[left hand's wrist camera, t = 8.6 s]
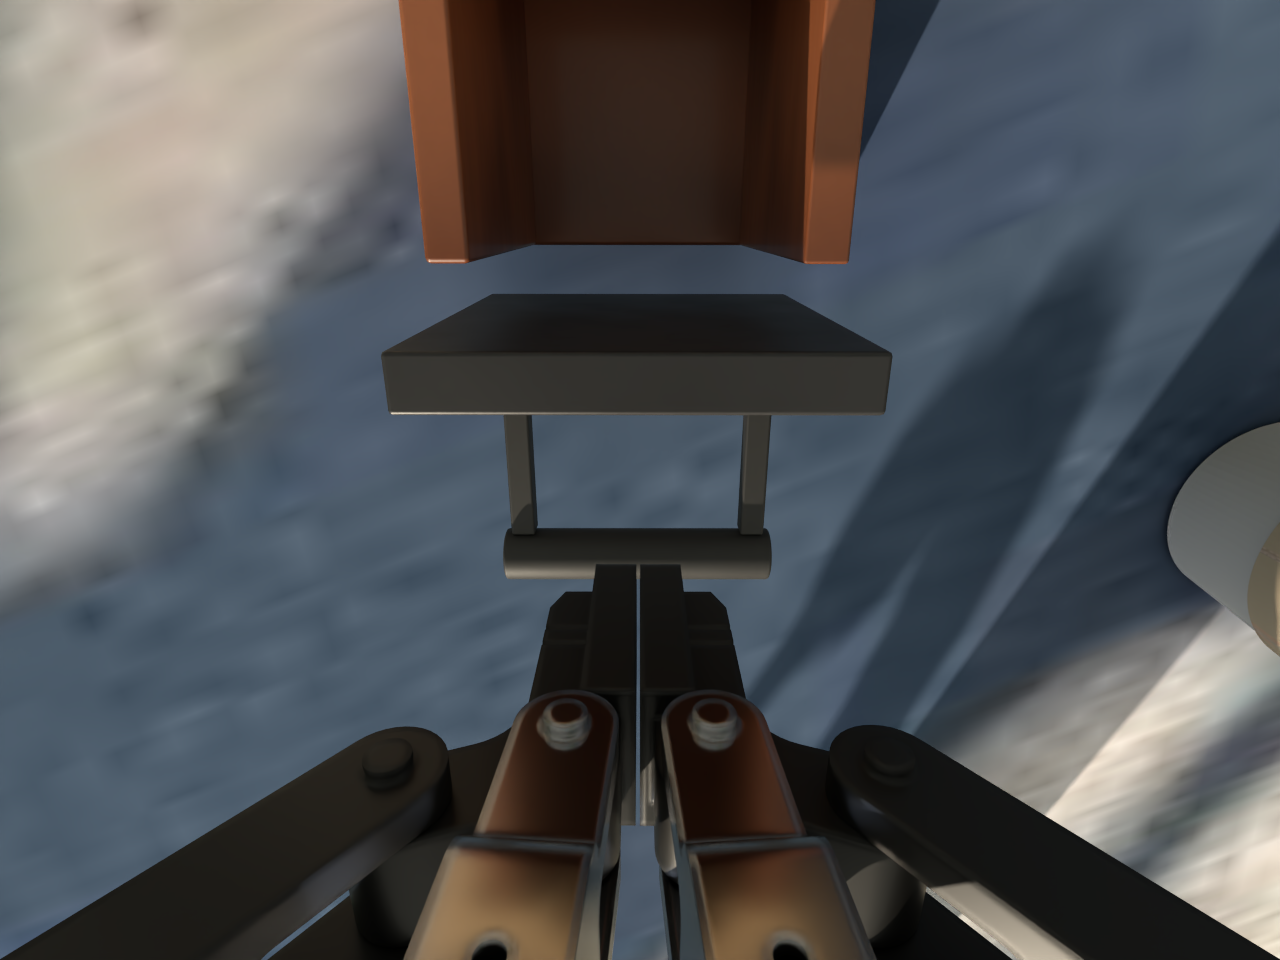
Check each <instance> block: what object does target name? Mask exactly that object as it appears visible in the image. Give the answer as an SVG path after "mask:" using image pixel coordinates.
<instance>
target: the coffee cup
mask: <svg viewBox="0 0 1280 960" xmlns="http://www.w3.org/2000/svg"><path fill="white" fill-rule="evenodd" d="M1167 540H1168V547H1169V551H1170V554H1171V556H1172V559H1173V561H1174V562H1175V564H1176V566H1177V567H1178V568H1179V570H1180V571H1181V572H1182V573H1183V574H1184V575H1185V576H1187V577H1188V578H1189V579H1190V580H1192V581H1193V582H1194V583H1195V584H1197V585H1198V586H1199V587H1200V588H1202V589H1203V590H1204V591H1205V592H1207V593H1208V594H1209V595H1210V596H1212V597H1213V598H1214V599H1216V600H1217V601H1218V602H1219V603H1221V604H1222V605H1223V606H1224V607H1226V608H1227V609H1228V610H1229V611H1231V612H1232V613H1233V614H1234V615H1236V616H1237V617H1238V618H1239V619H1241V620H1242V621H1243V622H1245V623H1246V624H1247V625H1248V626H1250V627H1251V628H1252V629H1253V630H1255V631H1256V633H1257V635H1258V636H1259V638H1260V639H1261V640H1262V641H1263V643H1264V644H1265V645H1266V646H1267V647H1269V648H1270V649H1271V650H1272V651H1273V652H1275V653H1276V654H1277V655H1278V656H1280V423H1274V424H1270V425H1266V426H1263V427H1260V428H1257V429H1254V430H1251V431H1249V432H1247V433H1245V434H1243V435H1241V436H1238V437H1237V438H1235V439H1233V440H1231V441H1230V442H1228V443H1226V444H1225V445H1223V446H1222V447H1221V448H1219V449H1218V450H1216V451H1215V452H1214V453H1213V454H1211V455H1210V456H1209V457H1208V458H1207V459H1206V460H1205V461H1203V462H1202V463H1201V464H1200V465H1199V466H1198V468H1197V469H1196V470H1195V471H1194V472H1193V473H1192V474H1191V476H1190V477H1189V478H1188V479H1187V481H1186V482H1185V484H1184V485H1183V487H1182V488H1181V490H1180V492H1179V494H1178V496H1177V498H1176V500H1175V502H1174V504H1173V507H1172V510H1171V513H1170V517H1169V521H1168V528H1167Z"/></svg>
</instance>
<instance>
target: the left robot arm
mask: <svg viewBox="0 0 1280 960" xmlns="http://www.w3.org/2000/svg"><path fill="white" fill-rule="evenodd" d="M636 684H637V576H636V564H596V568H595V576H594V584H593V592H565V593H564V594H563V595H562V596H561V597H560V598H559V599H558V600H557V601H556V602H555V603H554V604H553V605H552V606H551V607H550V611H549V615H548V620H547V624H546V630H545V633H544V637H543V645H542V646H541V651H540V655H539V659H538V664H537V668H536V673H535V677H534V681H533V686H532V690H531V694H530V699H529V703H527V704H526V705H525V706H524V707H523V708H522V709H521V710H520V711H519V713H518V714H517V716H516V718H515V720H514V722H513V725H512V727H511V728H509V729H508V730H506V731H505V732H504V733H502V734H500V735H498V736H496V737H494V738H492V739H489V740H487V741H484V742H480V743H477V744H473V745H469V746H465V747H461V748H457V749H453V750H447V747H446V744H445V743H444V741H443V740H442V739H441V738H440V737H439V736H438V735H437V734H435V733H433V732H431V731H429V730H426V729H423V728H418V727H395V728H390V729H385V730H382V731H378V732H375V733H373V734H370V735H368V736H366V737H364V738H362V739H360V740H358V741H357V742H355V743H353V744H352V745H350V746H349V747H347V748H345V749H344V750H342V751H340V752H339V753H337V754H335V755H334V756H332V757H331V758H329V759H327V760H326V761H324V762H322V763H321V764H319V765H317V766H316V767H314V768H312V769H311V770H309V771H308V772H306V773H304V774H303V775H301V776H299V777H298V778H296V779H294V780H293V781H291V782H290V783H288V784H286V785H285V786H283V787H281V788H280V789H278V790H276V791H275V792H273V793H272V794H270V795H268V796H267V797H265V798H263V799H262V800H260V801H258V802H257V803H255V804H254V805H252V806H250V807H249V808H247V809H245V810H244V811H242V812H240V813H239V814H237V815H236V816H234V817H232V818H231V819H229V820H227V821H226V822H224V823H222V824H221V825H219V826H218V827H216V828H214V829H213V830H211V831H209V832H208V833H206V834H204V835H203V836H201V837H200V838H198V839H196V840H195V841H193V842H191V843H190V844H188V845H186V846H185V847H183V848H182V849H180V850H178V851H177V852H175V853H173V854H172V855H170V856H168V857H167V858H165V859H164V860H162V861H160V862H159V863H157V864H155V865H154V866H152V867H150V868H149V869H147V870H146V871H144V872H142V873H141V874H139V875H137V876H136V877H134V878H132V879H131V880H129V881H128V882H126V883H124V884H123V885H121V886H119V887H118V888H116V889H114V890H113V891H111V892H109V893H108V894H106V895H105V896H103V897H101V898H100V899H98V900H96V901H95V902H93V903H91V904H90V905H88V906H87V907H85V908H83V909H82V910H80V911H78V912H77V913H75V914H73V915H72V916H70V917H69V918H67V919H65V920H64V921H62V922H60V923H59V924H57V925H55V926H54V927H52V928H51V929H49V930H47V931H46V932H44V933H42V934H41V935H39V936H37V937H36V938H34V939H33V940H31V941H29V942H28V943H26V944H24V945H23V946H21V947H19V948H18V949H16V950H15V951H13V952H11V953H10V954H8V955H6V956H5V957H3V958H1V959H0V960H261V959H262V958H263V957H264V956H265V955H266V954H267V953H268V952H269V951H270V950H272V949H273V948H274V947H275V946H277V945H278V944H279V943H280V942H282V941H283V940H284V939H286V938H287V937H288V936H290V935H291V934H292V933H293V932H295V931H296V930H297V929H299V928H300V927H301V926H302V925H304V924H305V923H306V922H308V921H309V920H310V919H311V918H313V917H314V916H315V915H317V914H318V913H319V912H320V911H322V910H323V909H324V908H326V907H327V906H328V905H330V904H331V903H332V902H333V901H335V900H336V899H337V898H339V897H340V896H341V895H342V894H344V893H345V892H346V891H348V890H349V893H350V896H348V897H347V898H346V899H345V900H343V901H342V902H341V903H339V904H338V905H337V906H336V907H334V908H333V909H332V910H330V911H329V912H328V913H327V914H325V915H324V916H323V917H322V918H320V919H319V920H318V921H316V922H315V923H314V924H313V925H311V926H310V927H309V928H307V929H306V930H305V931H304V932H302V933H301V934H300V935H299V936H297V937H296V938H295V939H293V940H292V941H291V942H290V943H288V944H287V945H286V946H284V947H283V948H282V949H281V950H279V951H278V952H277V953H276V954H274V955H273V956H272V957H270V958H269V959H268V960H612V952H613V943H614V934H615V926H616V917H617V908H618V899H619V890H620V881H621V856H620V846H621V825H635V817H636ZM640 826H654V838H655V854H656V858H657V861H658V863H659V881H660V890H661V899H662V908H663V917H664V926H665V934H666V943H667V952H668V960H1012V959H1011V958H1010V957H1008V956H1007V955H1006V954H1004V953H1003V952H1002V951H1001V950H999V949H998V948H997V947H996V946H994V945H993V944H992V943H990V942H989V941H988V940H987V939H985V938H984V937H983V936H981V935H980V934H979V933H978V932H976V931H975V930H974V929H973V928H971V927H970V926H969V925H967V924H966V923H965V922H964V921H962V920H961V919H960V918H958V917H957V916H956V915H955V914H953V913H952V912H951V911H950V910H948V909H947V908H946V907H944V906H943V905H942V904H941V903H939V902H938V901H937V900H935V899H934V898H933V897H932V896H930V895H929V894H928V893H927V892H926V887H929V888H930V889H931V890H932V891H934V892H935V893H936V894H938V895H939V896H940V897H941V898H943V899H944V900H945V901H947V902H948V903H949V904H950V905H952V906H953V907H954V908H956V909H957V910H958V911H959V912H961V913H962V914H963V915H965V916H966V917H967V918H969V919H970V920H971V921H972V922H974V923H975V924H976V925H978V926H979V927H980V928H981V929H983V930H984V931H985V932H987V933H988V934H989V935H990V936H992V937H993V938H994V939H996V940H997V941H998V942H999V943H1001V944H1002V945H1003V946H1004V947H1006V948H1007V949H1008V950H1009V951H1010V952H1011V953H1012V954H1013V955H1014V956H1015V957H1016V958H1017V959H1018V960H1280V959H1279V958H1277V957H1275V956H1274V955H1272V954H1270V953H1269V952H1267V951H1265V950H1264V949H1262V948H1261V947H1259V946H1257V945H1256V944H1254V943H1252V942H1251V941H1249V940H1247V939H1246V938H1244V937H1243V936H1241V935H1239V934H1238V933H1236V932H1234V931H1233V930H1231V929H1229V928H1228V927H1226V926H1225V925H1223V924H1221V923H1220V922H1218V921H1216V920H1215V919H1213V918H1211V917H1210V916H1208V915H1206V914H1205V913H1203V912H1202V911H1200V910H1198V909H1197V908H1195V907H1193V906H1192V905H1190V904H1188V903H1187V902H1185V901H1184V900H1182V899H1180V898H1179V897H1177V896H1175V895H1174V894H1172V893H1170V892H1169V891H1167V890H1166V889H1164V888H1162V887H1161V886H1159V885H1157V884H1156V883H1154V882H1152V881H1151V880H1149V879H1148V878H1146V877H1144V876H1143V875H1141V874H1139V873H1138V872H1136V871H1134V870H1133V869H1131V868H1130V867H1128V866H1126V865H1125V864H1123V863H1121V862H1120V861H1118V860H1116V859H1115V858H1113V857H1112V856H1110V855H1108V854H1107V853H1105V852H1103V851H1102V850H1100V849H1098V848H1097V847H1095V846H1094V845H1092V844H1090V843H1089V842H1087V841H1085V840H1084V839H1082V838H1080V837H1079V836H1077V835H1076V834H1074V833H1072V832H1071V831H1069V830H1067V829H1066V828H1064V827H1062V826H1061V825H1059V824H1058V823H1056V822H1054V821H1053V820H1051V819H1049V818H1048V817H1046V816H1044V815H1043V814H1041V813H1040V812H1038V811H1036V810H1035V809H1033V808H1031V807H1030V806H1028V805H1026V804H1025V803H1023V802H1022V801H1020V800H1018V799H1017V798H1015V797H1013V796H1012V795H1010V794H1008V793H1007V792H1005V791H1003V790H1002V789H1000V788H999V787H997V786H995V785H994V784H992V783H990V782H989V781H987V780H985V779H984V778H982V777H981V776H979V775H977V774H976V773H974V772H972V771H971V770H969V769H967V768H966V767H964V766H963V765H961V764H959V763H958V762H956V761H954V760H953V759H951V758H949V757H948V756H946V755H945V754H943V753H941V752H940V751H938V750H936V749H935V748H933V747H931V746H930V745H928V744H927V743H925V742H923V741H922V740H920V739H918V738H916V737H914V736H913V735H911V734H908V733H906V732H904V731H901V730H898V729H894V728H891V727H886V726H879V725H862V726H856V727H852V728H849V729H847V730H845V731H843V732H841V733H840V734H839V735H838V736H837V737H836V738H835V739H834V740H833V742H832V744H831V747H830V751H825V750H821V749H817V748H813V747H809V746H805V745H801V744H797V743H794V742H790V741H788V740H785V739H783V738H780V737H779V736H777V735H775V734H773V733H771V732H770V730H769V728H768V725H767V722H766V720H765V718H764V716H763V714H762V713H761V711H760V710H759V709H758V708H757V707H756V706H755V705H754V704H753V703H751V702H750V701H748V700H747V699H746V697H745V692H744V688H743V683H742V679H741V674H740V669H739V665H738V660H737V656H736V651H735V647H734V645H733V637H732V633H731V630H730V624H729V619H728V615H727V610H726V607H725V606H724V605H723V604H722V603H721V602H720V601H719V600H718V599H717V598H716V597H715V596H714V595H713V594H712V593H711V592H684V590H683V582H682V573H681V565H680V564H640Z"/></svg>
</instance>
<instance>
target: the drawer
mask: <svg viewBox="0 0 1280 960" xmlns="http://www.w3.org/2000/svg"><path fill="white" fill-rule="evenodd" d="M875 2H876V0H399V9H400V19H401V28H402V38H403V48H404V57H405V67H406V76H407V86H408V96H409V105H410V115H411V124H412V134H413V144H414V153H415V163H416V173H417V182H418V192H419V201H420V211H421V221H422V230H423V240H424V249H425V258H426V260H427V262H430V263H468V262H472V261H476V260H479V259H483V258H487V257H491V256H494V255H498V254H502V253H505V252H509V251H513V250H516V249H520V248H524V247H527V246H531V245H742V246H746V247H749V248H753V249H756V250H760V251H763V252H767V253H770V254H774V255H777V256H781V257H784V258H788V259H791V260H795V261H798V262H802V263H805V264H846V263H848V261H849V253H850V244H851V234H852V224H853V215H854V205H855V195H856V186H857V176H858V166H859V157H860V147H861V137H862V128H863V118H864V108H865V99H866V89H867V79H868V70H869V60H870V50H871V41H872V31H873V21H874V12H875ZM381 358H382V366H383V373H384V381H385V388H386V396H387V404H388V410H389V413H390V414H393V415H504V427H505V441H506V455H507V469H508V483H509V497H510V512H511V526H512V528H510V529H508V530H507V532H506V535H505V540H504V549H503V562H504V571H505V575H506V577H507V578H508V579H594V576H595V568H596V564H636V576H637V579H640V564H680V565H681V573H682V579H767V578H768V577H769V575H770V571H771V561H772V551H771V540H770V535H769V532H768V530H767V529H765V528H763V525H764V511H765V496H766V482H767V468H768V454H769V440H770V426H771V415H882V414H884V412H885V409H886V402H887V394H888V386H889V379H890V371H891V363H892V353H891V352H889V351H887V350H885V349H883V348H882V347H880V346H878V345H876V344H874V343H872V342H871V341H869V340H867V339H865V338H863V337H861V336H859V335H858V334H856V333H854V332H852V331H850V330H848V329H847V328H845V327H843V326H841V325H839V324H837V323H836V322H834V321H832V320H830V319H828V318H826V317H824V316H823V315H821V314H819V313H817V312H815V311H813V310H812V309H810V308H808V307H806V306H804V305H802V304H801V303H799V302H797V301H795V300H793V299H791V298H789V297H788V296H786V295H784V294H492V295H490V296H488V297H486V298H484V299H482V300H480V301H478V302H476V303H474V304H473V305H471V306H469V307H467V308H465V309H463V310H461V311H459V312H457V313H456V314H454V315H452V316H450V317H448V318H446V319H444V320H442V321H440V322H439V323H437V324H435V325H433V326H431V327H429V328H427V329H425V330H423V331H422V332H420V333H418V334H416V335H414V336H412V337H410V338H408V339H406V340H405V341H403V342H401V343H399V344H397V345H395V346H393V347H391V348H389V349H388V350H386V351H384V352H382V355H381ZM532 415H744V417H743V434H742V452H741V470H740V488H739V506H738V523H737V525H738V528H537V525H538V521H537V503H536V486H535V468H534V450H533V432H532Z"/></svg>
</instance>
